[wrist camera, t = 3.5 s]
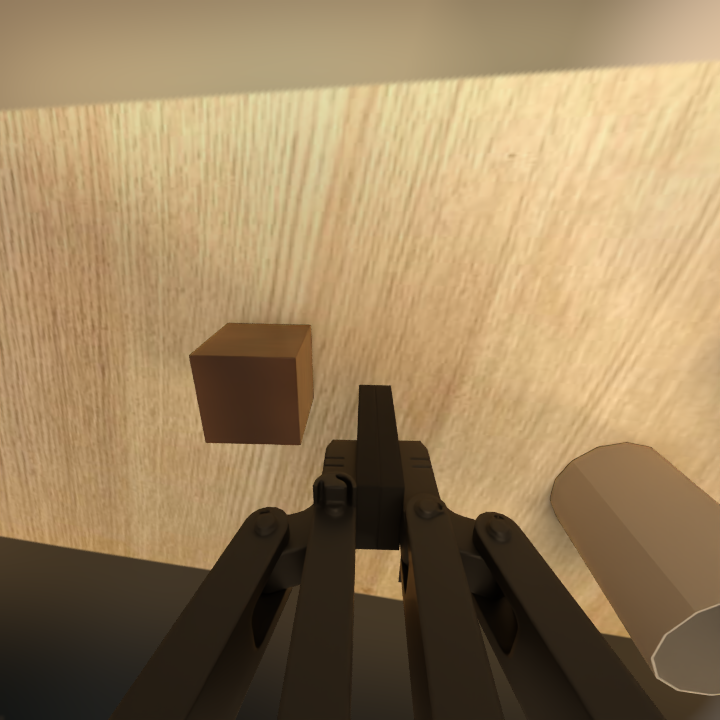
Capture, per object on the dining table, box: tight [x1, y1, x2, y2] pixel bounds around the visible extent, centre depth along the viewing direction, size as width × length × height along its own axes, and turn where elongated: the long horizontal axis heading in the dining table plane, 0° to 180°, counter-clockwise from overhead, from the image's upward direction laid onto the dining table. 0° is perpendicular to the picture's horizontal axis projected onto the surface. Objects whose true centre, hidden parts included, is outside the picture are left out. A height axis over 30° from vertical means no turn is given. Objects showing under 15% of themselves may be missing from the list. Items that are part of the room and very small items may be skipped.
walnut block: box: [189, 323, 314, 445], centre depth 19 cm, size 5×5×5 cm
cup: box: [550, 442, 720, 696], centre depth 21 cm, size 8×8×10 cm
